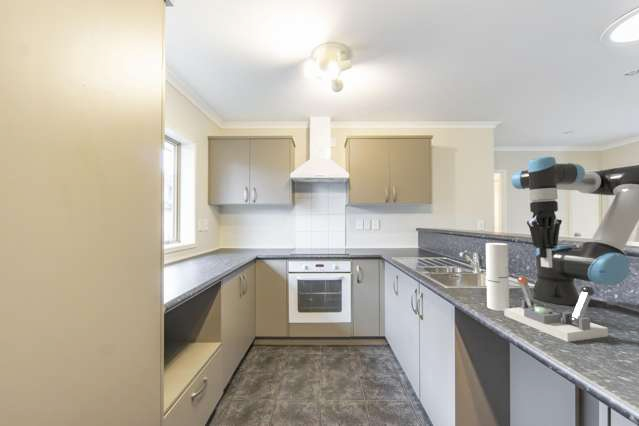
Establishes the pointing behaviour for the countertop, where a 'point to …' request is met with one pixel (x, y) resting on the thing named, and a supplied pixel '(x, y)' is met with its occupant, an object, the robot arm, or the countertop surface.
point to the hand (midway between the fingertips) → (546, 266)
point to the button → (542, 310)
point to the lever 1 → (526, 292)
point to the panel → (556, 323)
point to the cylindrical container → (497, 276)
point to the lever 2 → (581, 306)
